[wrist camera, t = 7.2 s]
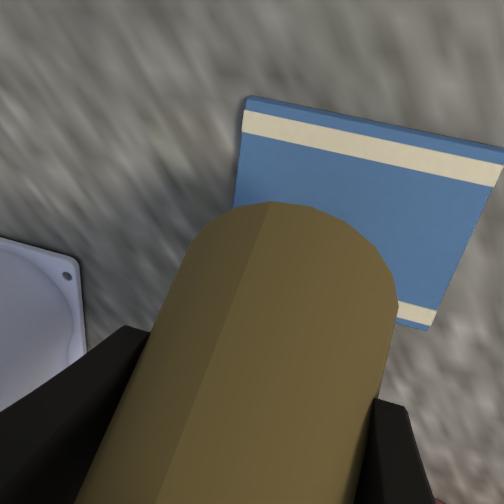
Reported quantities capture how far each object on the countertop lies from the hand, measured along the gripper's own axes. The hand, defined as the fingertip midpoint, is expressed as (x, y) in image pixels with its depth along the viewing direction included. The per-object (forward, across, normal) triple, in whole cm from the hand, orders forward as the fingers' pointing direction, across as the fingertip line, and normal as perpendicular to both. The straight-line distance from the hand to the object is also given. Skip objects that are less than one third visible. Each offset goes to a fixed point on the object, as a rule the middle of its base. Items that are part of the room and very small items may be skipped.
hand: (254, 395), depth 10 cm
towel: (+10, -1, +1) cm, 10 cm away
